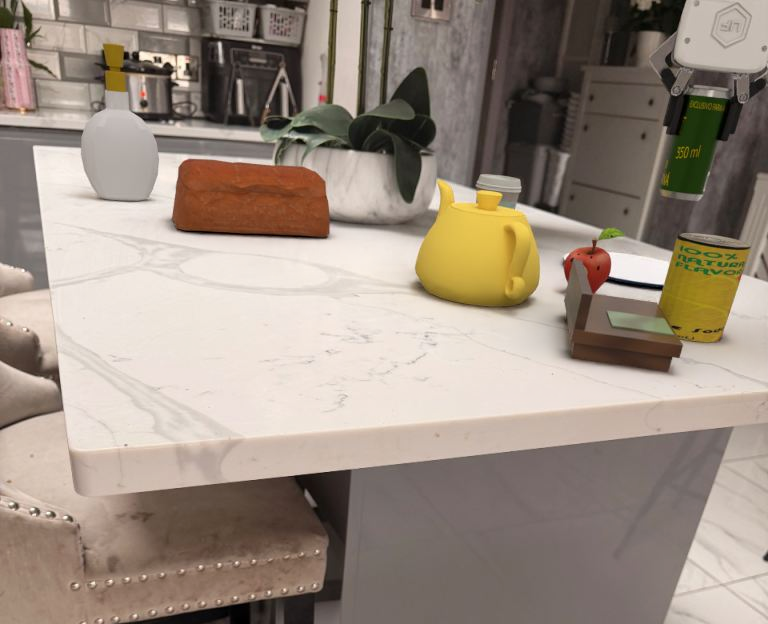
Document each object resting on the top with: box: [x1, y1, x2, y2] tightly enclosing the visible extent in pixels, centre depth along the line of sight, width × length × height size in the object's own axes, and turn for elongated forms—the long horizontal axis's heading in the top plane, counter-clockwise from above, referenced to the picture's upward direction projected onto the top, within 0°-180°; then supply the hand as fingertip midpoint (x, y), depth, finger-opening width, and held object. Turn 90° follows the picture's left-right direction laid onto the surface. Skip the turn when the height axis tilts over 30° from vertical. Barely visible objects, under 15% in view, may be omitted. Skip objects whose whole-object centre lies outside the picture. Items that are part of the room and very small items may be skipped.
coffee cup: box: [475, 173, 522, 210], centre depth 143 cm, size 8×8×12 cm
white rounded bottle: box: [80, 42, 160, 202], centre depth 143 cm, size 14×9×26 cm, turn 118°
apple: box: [563, 227, 626, 294], centre depth 114 cm, size 8×7×10 cm
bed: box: [563, 259, 684, 373], centre depth 93 cm, size 12×20×8 cm, turn 170°
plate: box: [562, 251, 670, 288], centre depth 135 cm, size 25×25×1 cm
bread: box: [171, 158, 331, 238], centre depth 133 cm, size 16×27×11 cm, turn 109°
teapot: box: [414, 179, 541, 307], centre depth 108 cm, size 25×18×14 cm
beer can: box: [658, 84, 733, 202], centre depth 91 cm, size 5×5×12 cm
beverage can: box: [657, 231, 752, 343], centre depth 100 cm, size 9×9×12 cm
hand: (696, 135), depth 91 cm, fingers closed on beer can, 5 cm apart
